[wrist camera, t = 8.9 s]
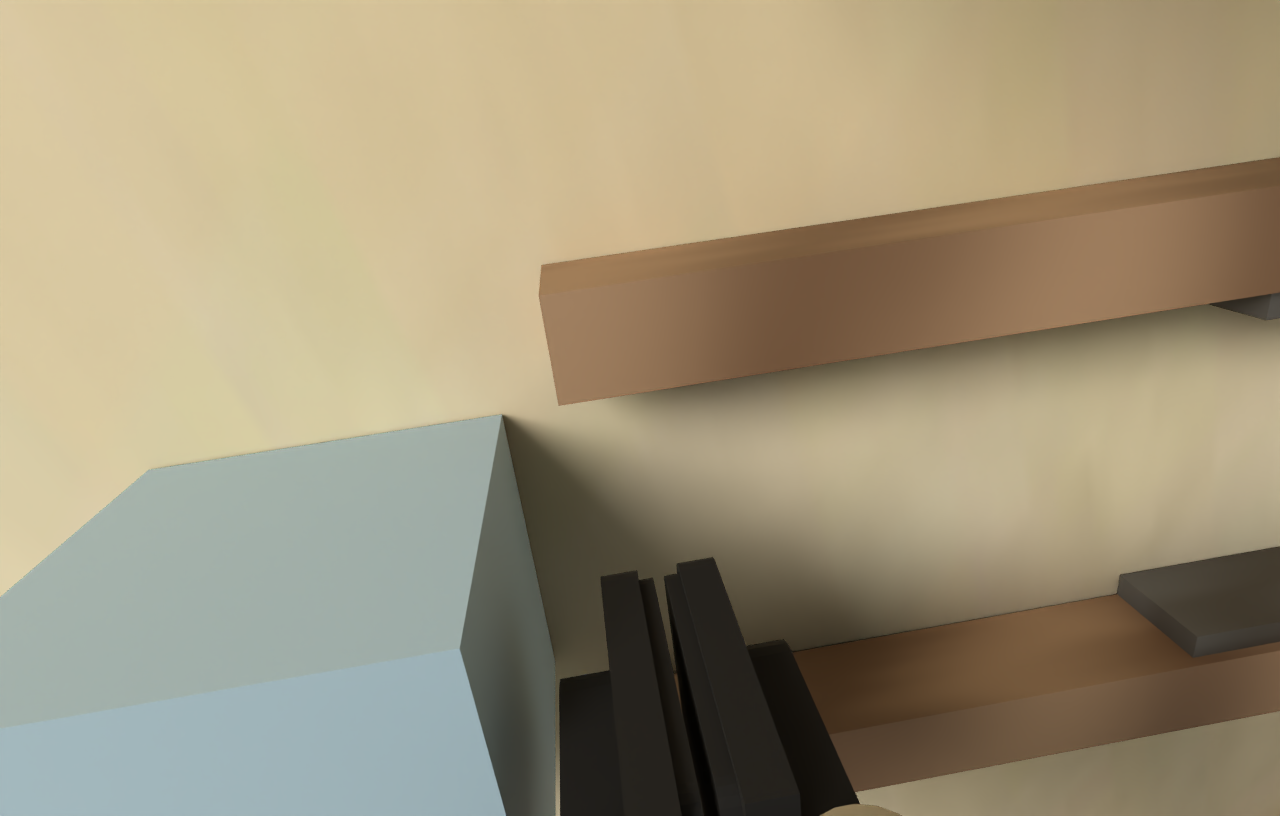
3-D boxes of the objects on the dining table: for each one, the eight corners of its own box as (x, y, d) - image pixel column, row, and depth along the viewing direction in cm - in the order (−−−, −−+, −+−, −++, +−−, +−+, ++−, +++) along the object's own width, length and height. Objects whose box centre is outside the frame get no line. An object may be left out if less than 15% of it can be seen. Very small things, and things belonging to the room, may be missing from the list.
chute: (1815, 79, 13) (2053, 70, 11) (1594, 562, 17) (1736, 623, 15) (541, 265, 12) (538, 295, 10) (626, 740, 16) (636, 834, 14)
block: (501, 414, 12) (459, 649, 7) (555, 661, 15) (555, 993, 9) (148, 469, 12) (-193, 762, 7) (255, 714, 14) (64, 1092, 9)
